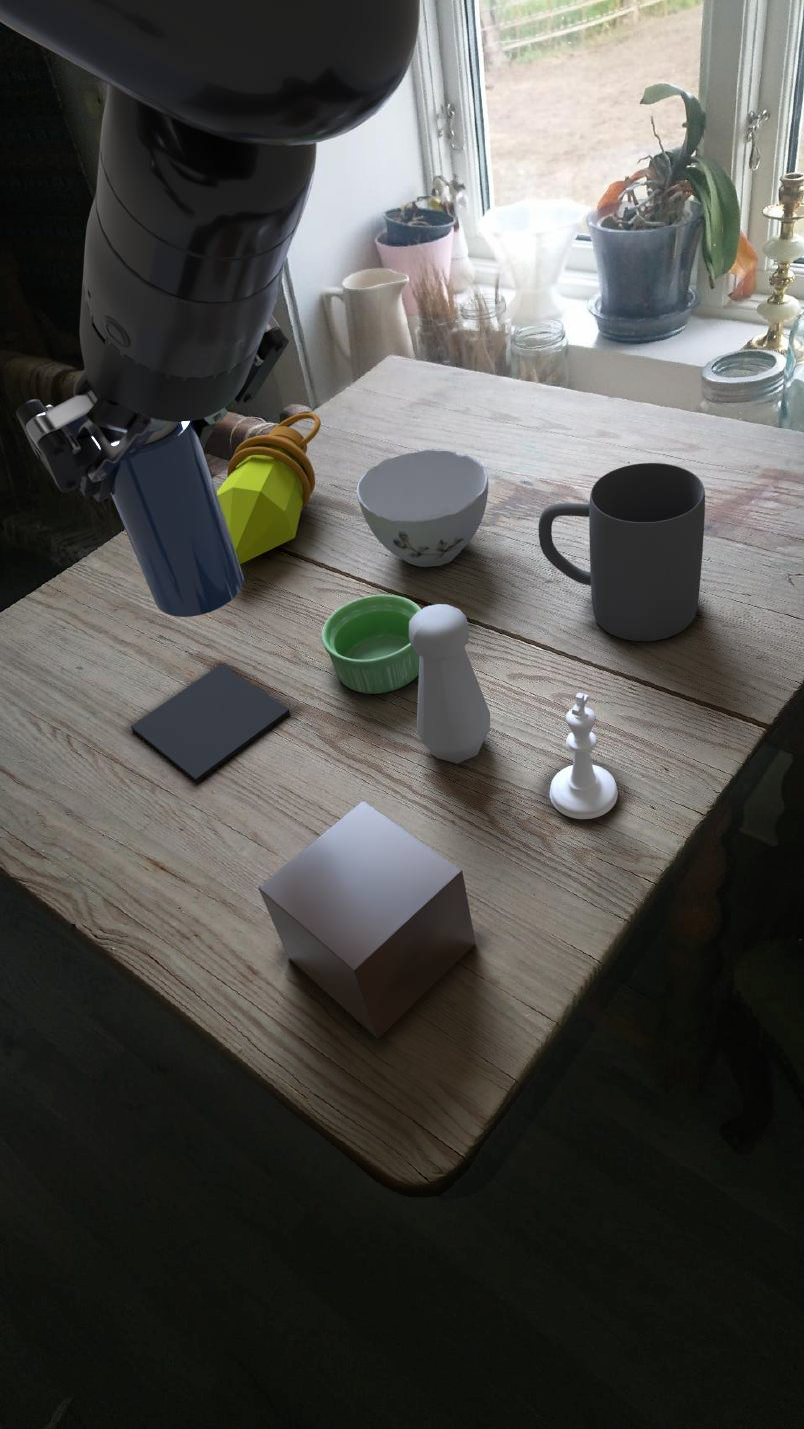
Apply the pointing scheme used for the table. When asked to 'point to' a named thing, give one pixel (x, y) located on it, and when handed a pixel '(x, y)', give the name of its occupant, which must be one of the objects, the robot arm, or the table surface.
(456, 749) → the salt shaker
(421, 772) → the table surface
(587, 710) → the chess piece
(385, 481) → the teacup
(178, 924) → the table surface
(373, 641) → the ramekin
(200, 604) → the blue cylinder
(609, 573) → the mug
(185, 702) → the coaster
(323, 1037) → the table surface
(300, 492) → the plumb bob
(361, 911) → the cube
